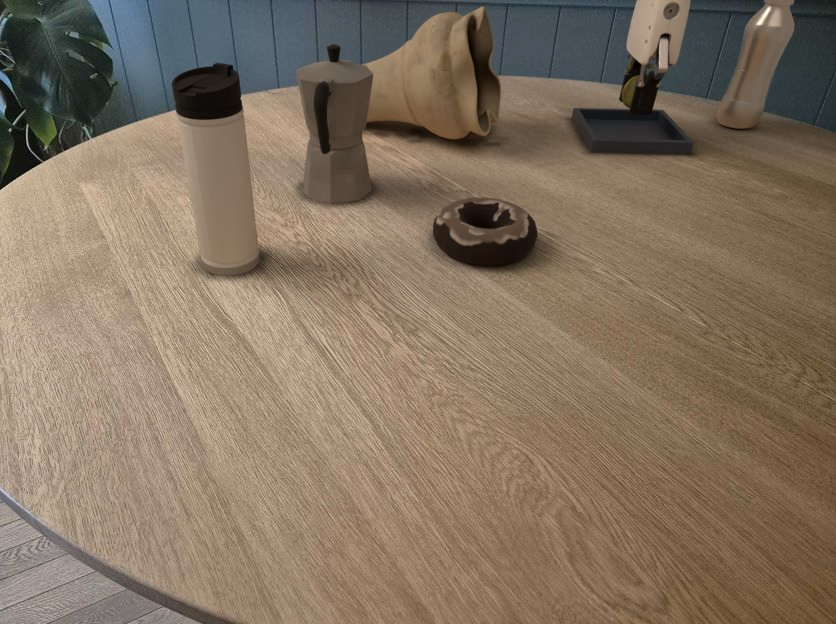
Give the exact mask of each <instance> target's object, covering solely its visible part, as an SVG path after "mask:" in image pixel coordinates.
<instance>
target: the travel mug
mask: <svg viewBox="0 0 836 624" xmlns="http://www.w3.org/2000/svg"><path fill="white" fill-rule="evenodd" d="M240 81H241V80H240V75H239V73H238V71H237V70H235V69H234V65H233V64H229V63H222V62H215V63H213V64H212V66H211V65H209V66H208V65H207V66H200V67H196V68H192V69H188V70H186V71H184V72H181V73H180V74H177V76H175V77H174V78H173V79H172V81H171V88H172V96H173V101H174V102H175V103H174V104H175V105H174V107H175V116H176V118H177V120H176V122H177V127H178V132H179V138H180V139H179V140H180V144H181V150H182V156H183V162H184V168H185V169H184V170H185V173H186V181H187V187H188V191H189V196H190V203H191V209H192V214H193V220H194V227H195V231H196V232H195V233H196V237H197V242H198V243H197V244H198V249H199V255H200V260H201V266H202V268H203V269H204V270H205V271H206V272H207V273H209V274H211V275H214V276H221V277H229V276H230V277H231V276H237V275H238V276H239V275H242V274H245V273H247V272H250V271H252V270H253V269H255V268H256V267H257V266H258V265H259V263H260V259H261V258H260V250H259V249H260V248H259V241H258V240H259V239H258V231H257V221H256V212H255V204H254V196H253V195H254V194H253V185H252V177H251V175H252V174H251V166H250V157H249V147H248V142H247V141H248V140H247V131H246V120H245V114H244V106H243V101H242V100H243V99H242V90H241V82H240Z"/></svg>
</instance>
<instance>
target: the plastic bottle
mask: <svg viewBox="0 0 836 624" xmlns="http://www.w3.org/2000/svg"><path fill="white" fill-rule="evenodd" d="M763 3H764V5H763V7H761V8H760V9H759V10H758V11H757V12H756V13H755V14H754V15H753V16H752V17H751V18H750V19H749V20H748V22H747V24H745V27H744V31H743V35H742V40H741V45H740V51H739V55H738V58H737V62H736V65H735V68H734V72H733V75H732V77H731V79H730V81H729V84H728V86H727V88H726V91H725V93H724V94H723V96H722V98H721V99H720V101H719V103H718V106H717V108H716V113H715V114H716V117H715V118H716V121H717V123H718V124H720V125H721V126H724V127H728V128H733V129H740V130H743V129H744V130H746V129H751V128H753V127H754V126H756V125H757V124H758V122H759V121H760V120H761V118H762V116H763V114H764V110H765V106H766V97H767V95H768V91H769V89H770V84H771V81H772V79H773V78H772V77H773V75H774V72H775V70H776V68H777V66H778V64H779V61H780V59H781V57H782V55H783V53H784V51H785V49H786V48H787V46H788V45H789V42H790V39H791V38H792V37H793V34H794V32H795V22H794V17H793V15H792V11H791V6H793V5H794V3H795V0H763Z"/></svg>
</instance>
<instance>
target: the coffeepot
mask: <svg viewBox="0 0 836 624" xmlns="http://www.w3.org/2000/svg"><path fill="white" fill-rule="evenodd" d="M326 51H327V56H328V60H325V61H318V62H312V63H309V64H307V65H304V66H302V67H299V68H297V69H295V75H296V81H297V85H298V89H299V95H300V100H301V105H302V111H303V116H304V122H305V125H306V127H307V130H308V132H309V136H308V137H309V140H308V142H307V146H306V147H307V148H306V156H305V163H304V164H305V165H304V172H303V182H302V187H303V190H304V193H305V195H306V197H307V198H308V199H311V200H314V201H318V202H320V203H321V202H322V203H326V204H330V205H335V204H336V205H337V204H347V203H352V202H359V201H360V200H362V199H363V198H365V197H366V196H367V195H369V193H371V192H372V191H373V189H372V188H373V187H372V183H371V175H370V170H369V164H368V158H367V152H366V147H365V146H366V145H365V143H364V140H363V131H364V130H365V129H366V128H367V123H368V122H367V115H368V108H369V102H370V95H371V88H372V81H373V75H374V74H373V73H372V72H371V71H370V69H369V68H368V67H367V66H365V65H363V64H358V63H354V62H353V61H352V60H350V59H347V60H344V59H343V60H341V59H340V54H341V46H340V45H338V44H334V43H333V44H330V45H327V46H326Z"/></svg>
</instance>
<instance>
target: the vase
mask: <svg viewBox="0 0 836 624" xmlns="http://www.w3.org/2000/svg"><path fill="white" fill-rule="evenodd" d="M494 52H495V40H494V36H493V31H492V26H491V22H490V19H489V15H488V11H487V9H486V7H485V6H479V7H478V8H477V9H474V10H473V11H471V12H468V13H466V14H465V15H462V14H460V13H458V12H456V11H455V12H454V11H446V12H440V13H437V14H435V15H433V16H431V17H429V18H428V19H427V20H425V22H424V23H423V24H422V25H421V26H419V28H418V29H417V30H416V32H415V33H414V34H413V36H412V38H411V39H408V40H407V41H406V42H405V43H404V44H403V45H402V46H401V47H400V48H398V49H396V50H395V51H393V52H391V53H389V54H387V55H385V56H383V57H381V58H378V59H375V60H372V61H369V62H367V63H366V62H365V63H363V64H362V65H365V66H367V67H368V68H369V69H370V71H371V72H372V73H373V74H374V75H373V81H372V88H371V95H370V102H369V108H368V115H367V122H366V123H372V122H401V123H409V124H412V125H416V126H418V127H423V128H425V129H426V130H427V131H429V132H430V133H432V134H434V135H436V136H438V137H440V138H444V139H448V140H460V139H463V138H465V137H467V136H468V135H469V134H470V132H472V133H474V134H476V135H478V136H482V137H485V136H487V135H489V134H490V132H491V127H492V123H497V122H498V121H499V116H500V108H501V97H502V84H501V79H500V77H499V75H498V74H497V72H496V71H495V70H494V69H493V67H492V59H493V56H494Z"/></svg>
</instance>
